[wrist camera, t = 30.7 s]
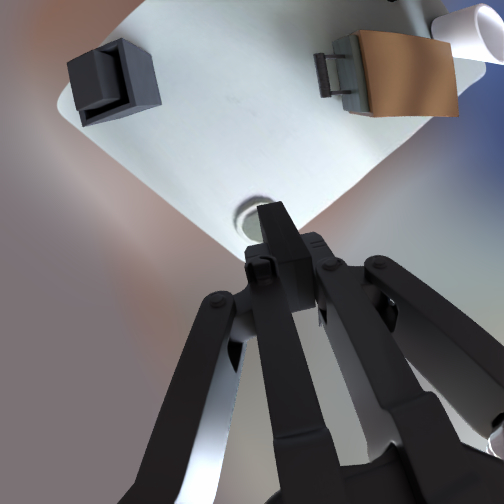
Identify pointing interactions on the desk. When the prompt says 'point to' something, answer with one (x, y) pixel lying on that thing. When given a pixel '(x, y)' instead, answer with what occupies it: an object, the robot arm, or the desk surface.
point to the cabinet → (407, 75)
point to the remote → (97, 81)
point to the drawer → (345, 74)
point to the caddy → (128, 83)
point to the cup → (472, 33)
